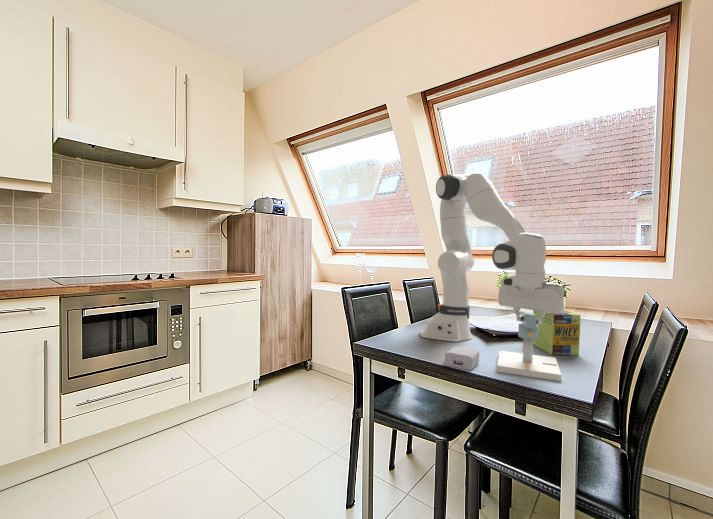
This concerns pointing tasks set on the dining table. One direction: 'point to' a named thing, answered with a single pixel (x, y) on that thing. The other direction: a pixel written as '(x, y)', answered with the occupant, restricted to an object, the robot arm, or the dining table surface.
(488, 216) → the robot arm
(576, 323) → the protein box
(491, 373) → the dining table surface
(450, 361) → the charger
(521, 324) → the coupling
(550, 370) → the post base
